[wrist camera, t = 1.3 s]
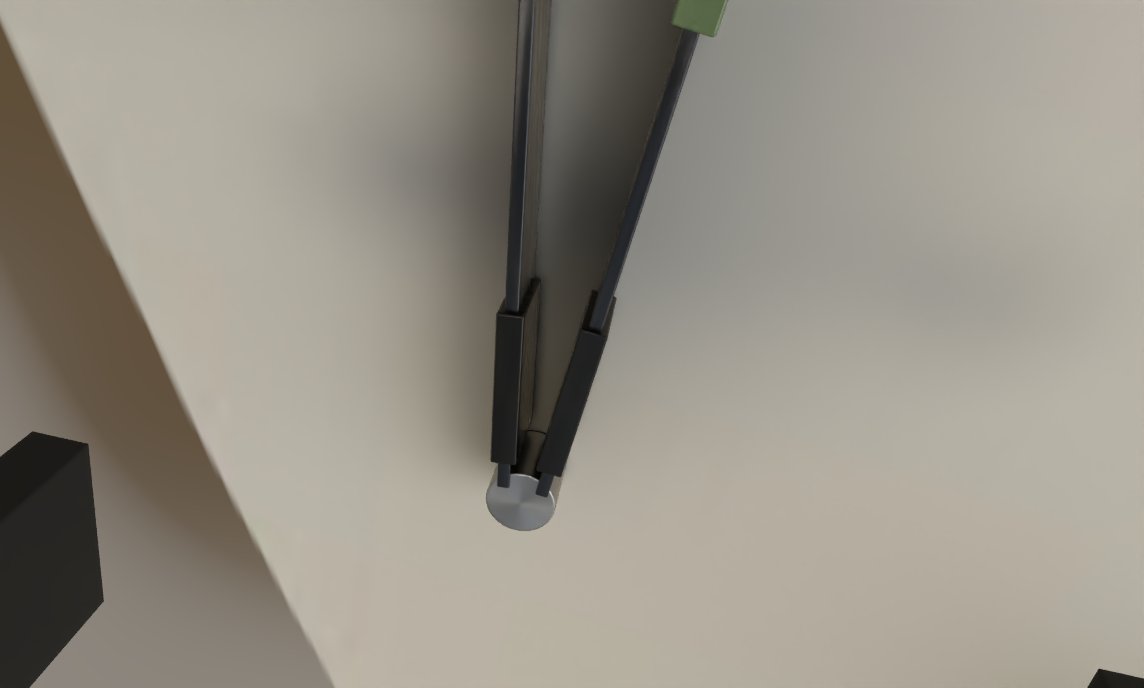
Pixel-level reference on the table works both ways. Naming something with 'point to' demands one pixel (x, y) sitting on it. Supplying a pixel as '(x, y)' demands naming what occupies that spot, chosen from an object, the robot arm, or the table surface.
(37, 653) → the robot arm
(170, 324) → the table surface
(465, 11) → the table surface
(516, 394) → the tongs
